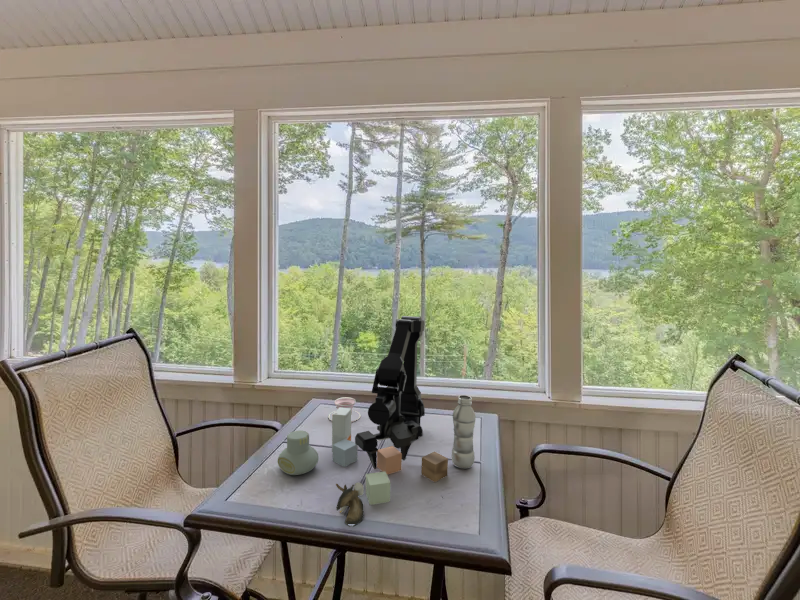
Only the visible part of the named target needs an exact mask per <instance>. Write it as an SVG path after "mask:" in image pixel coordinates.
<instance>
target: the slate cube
mask: <svg viewBox="0 0 800 600" xmlns="http://www.w3.org/2000/svg"><path fill="white" fill-rule="evenodd" d="M356 461H358V445H357V444H356V443H355V441H352V440H351V441H349V440H347V439H344V440H342V441H340V442H338V443H335V444H333V452H332V462H334V463H336V464H337V465H340V466H341V467H345V468H346V467H347V466H350V465H351V464H353V463H355V462H356Z"/></svg>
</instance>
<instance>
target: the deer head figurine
mask: <svg viewBox="0 0 800 600" xmlns="http://www.w3.org/2000/svg"><path fill="white" fill-rule="evenodd" d="M335 485H336V488H337V489H338V490H340V491H341V492H342V493H341V494H340V496H339V498H338V499H337V500H338V501H337V503H336V508H335V510H336V511H339V510H340V511H339V513H342V512H344V511H345V510H346V509H347V507H348V512H347V516H346V518H345V521H344V524H345V525H347V526H349V525H348V524H357V525H358V524H360V523H361V522H362V521H363V519H364V516H365V512H364V511H365V509H364V508H365V506H364V505H365V504H364V502H363V500H362V499H360V497H361V496H363V494H364V489H365V488H364V485H363V484H362V483H361V482H356V483H354V484H352V486H350V487H349V488H348V487H347V484H344V485H343V487H342V486H340V484H338V483H335Z"/></svg>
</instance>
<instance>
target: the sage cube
mask: <svg viewBox="0 0 800 600" xmlns="http://www.w3.org/2000/svg"><path fill="white" fill-rule="evenodd" d="M389 478H390V477H389V475H387V474H386V472H385V471H384V472H382V471H379V472H371V473H370V472H369V473H365V495H366V498H367V501H368V504H369V506H371V505H378V504H384V503H390V502H391V481H390V479H389Z"/></svg>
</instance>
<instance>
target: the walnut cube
mask: <svg viewBox="0 0 800 600" xmlns="http://www.w3.org/2000/svg"><path fill="white" fill-rule="evenodd" d="M448 469H449V458H448V457H447V456H445V455H442V454H441V453H439V452H436V451H433V452H430V453H427V454H425V455H424V456H422V457H421V471H420V472H421V473H420V474H421V476H423V477H424V478H426V479H428V480H430V481H432V482H433V483H437V482H438V481H440V480H442V479H444V478H446V477H448V471H449V470H448Z"/></svg>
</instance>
